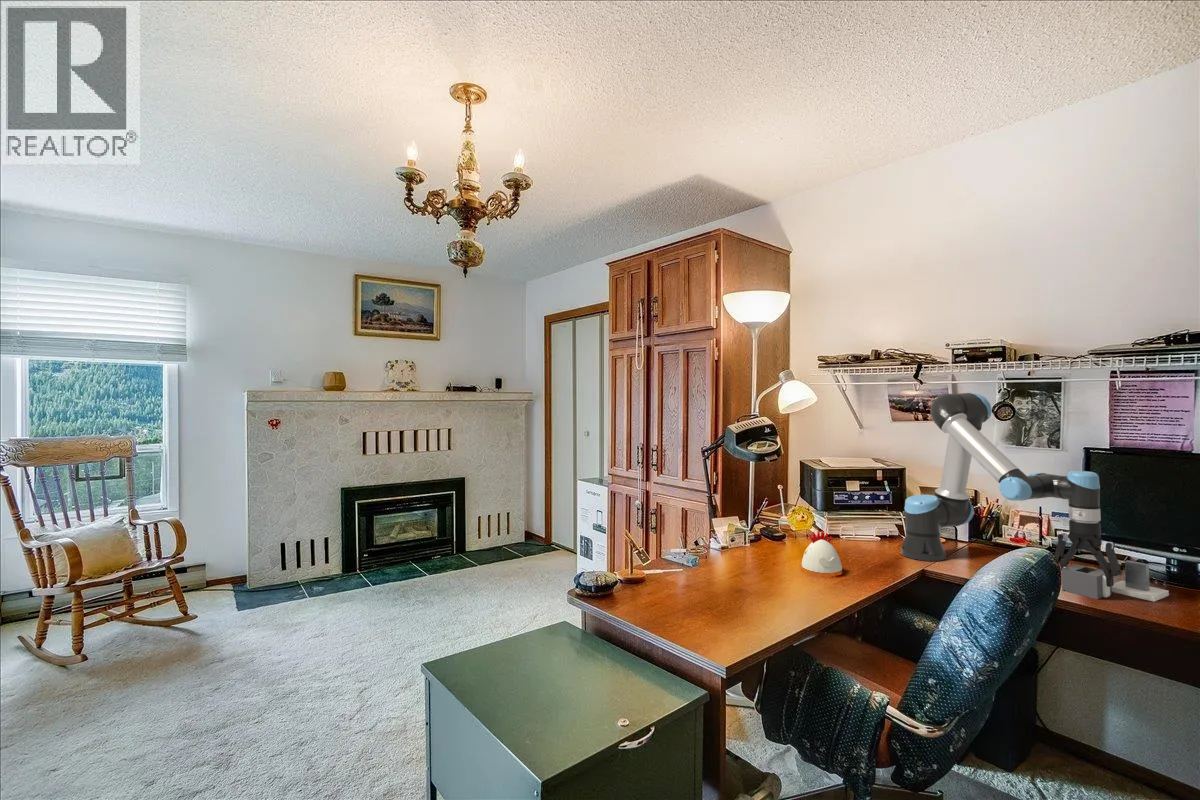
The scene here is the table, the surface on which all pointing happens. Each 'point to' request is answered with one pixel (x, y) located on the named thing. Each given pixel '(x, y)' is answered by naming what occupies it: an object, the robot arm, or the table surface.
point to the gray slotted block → (1083, 581)
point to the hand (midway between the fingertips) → (1086, 591)
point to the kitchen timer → (821, 555)
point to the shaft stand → (1138, 583)
